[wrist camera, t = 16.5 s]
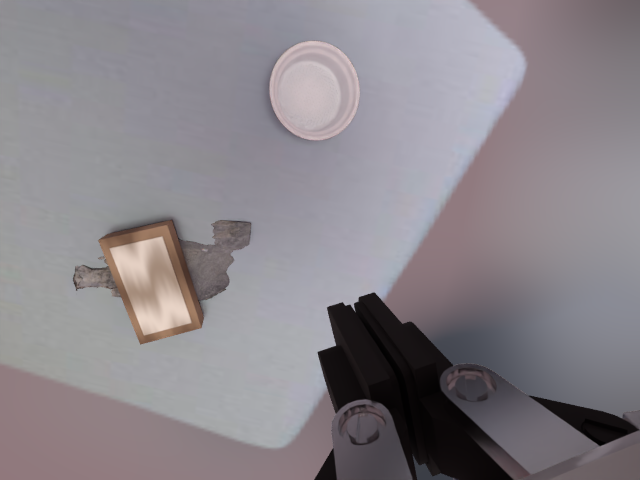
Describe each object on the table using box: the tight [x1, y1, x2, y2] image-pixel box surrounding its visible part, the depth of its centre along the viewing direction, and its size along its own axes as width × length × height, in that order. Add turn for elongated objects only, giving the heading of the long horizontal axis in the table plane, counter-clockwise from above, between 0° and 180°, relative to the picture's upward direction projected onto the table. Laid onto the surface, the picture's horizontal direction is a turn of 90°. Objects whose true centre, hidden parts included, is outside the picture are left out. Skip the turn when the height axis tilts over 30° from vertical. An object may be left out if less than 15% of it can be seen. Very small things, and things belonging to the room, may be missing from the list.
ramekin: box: [269, 41, 360, 140], centre depth 35 cm, size 9×9×4 cm
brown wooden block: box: [98, 220, 204, 344], centre depth 37 cm, size 12×3×6 cm
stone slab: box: [73, 220, 251, 300], centre depth 38 cm, size 18×2×10 cm
